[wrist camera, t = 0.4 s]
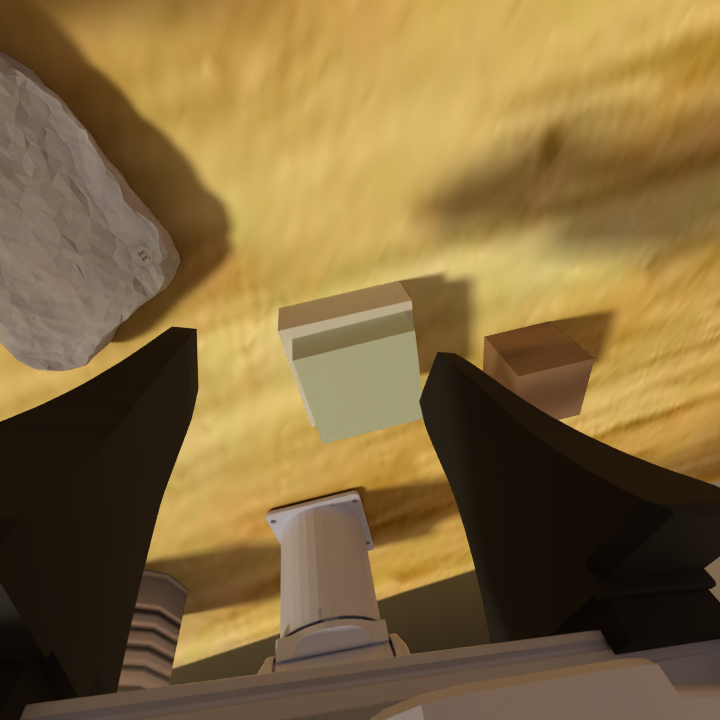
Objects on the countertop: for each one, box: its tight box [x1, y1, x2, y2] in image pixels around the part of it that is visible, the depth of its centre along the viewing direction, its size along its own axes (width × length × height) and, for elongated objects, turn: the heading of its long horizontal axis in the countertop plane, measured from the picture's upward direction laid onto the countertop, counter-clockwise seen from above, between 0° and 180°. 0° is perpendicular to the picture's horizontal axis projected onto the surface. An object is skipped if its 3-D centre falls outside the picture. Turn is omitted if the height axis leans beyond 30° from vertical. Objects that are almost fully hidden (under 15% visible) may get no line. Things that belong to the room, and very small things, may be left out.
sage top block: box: [292, 312, 423, 444], centre depth 20 cm, size 6×6×2 cm
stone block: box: [0, 51, 180, 371], centre depth 15 cm, size 12×5×10 cm
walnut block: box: [483, 322, 594, 420], centre depth 24 cm, size 4×4×4 cm
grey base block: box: [278, 281, 414, 427], centre depth 22 cm, size 7×7×3 cm
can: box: [117, 570, 188, 693], centre depth 30 cm, size 11×11×12 cm
